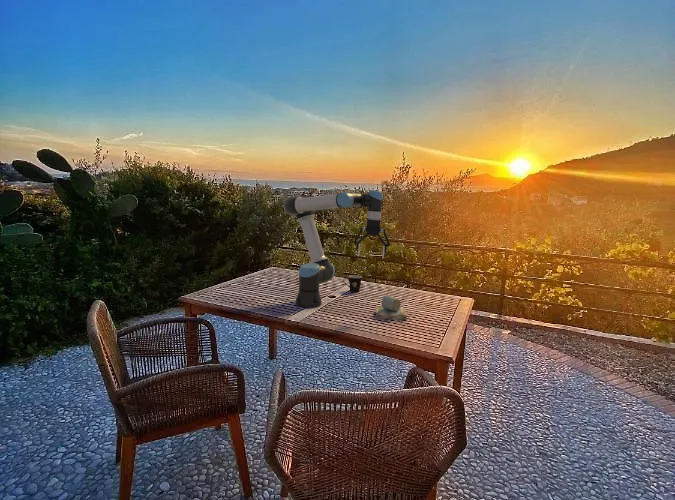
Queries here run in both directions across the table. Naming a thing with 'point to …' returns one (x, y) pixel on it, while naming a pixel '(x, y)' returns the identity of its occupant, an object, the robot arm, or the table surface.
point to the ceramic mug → (391, 303)
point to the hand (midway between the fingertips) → (370, 257)
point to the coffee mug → (354, 283)
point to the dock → (391, 313)
